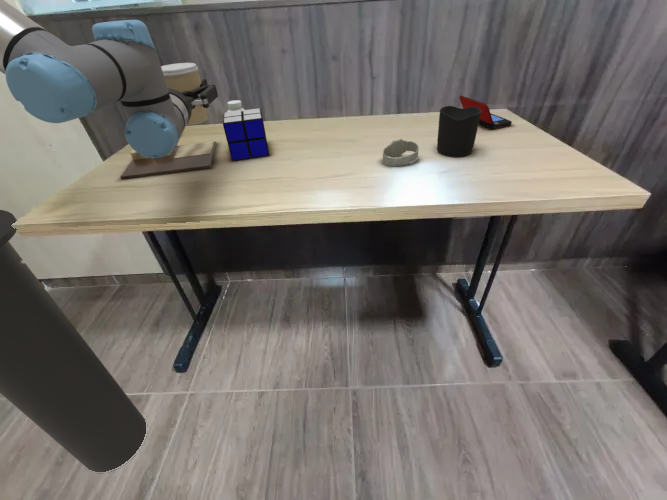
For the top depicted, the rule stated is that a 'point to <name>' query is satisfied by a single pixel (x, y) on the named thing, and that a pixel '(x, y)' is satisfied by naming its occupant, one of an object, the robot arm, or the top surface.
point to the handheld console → (485, 114)
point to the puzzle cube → (245, 134)
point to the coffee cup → (185, 85)
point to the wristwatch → (400, 153)
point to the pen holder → (457, 130)
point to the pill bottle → (234, 106)
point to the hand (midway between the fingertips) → (187, 87)
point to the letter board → (172, 161)
